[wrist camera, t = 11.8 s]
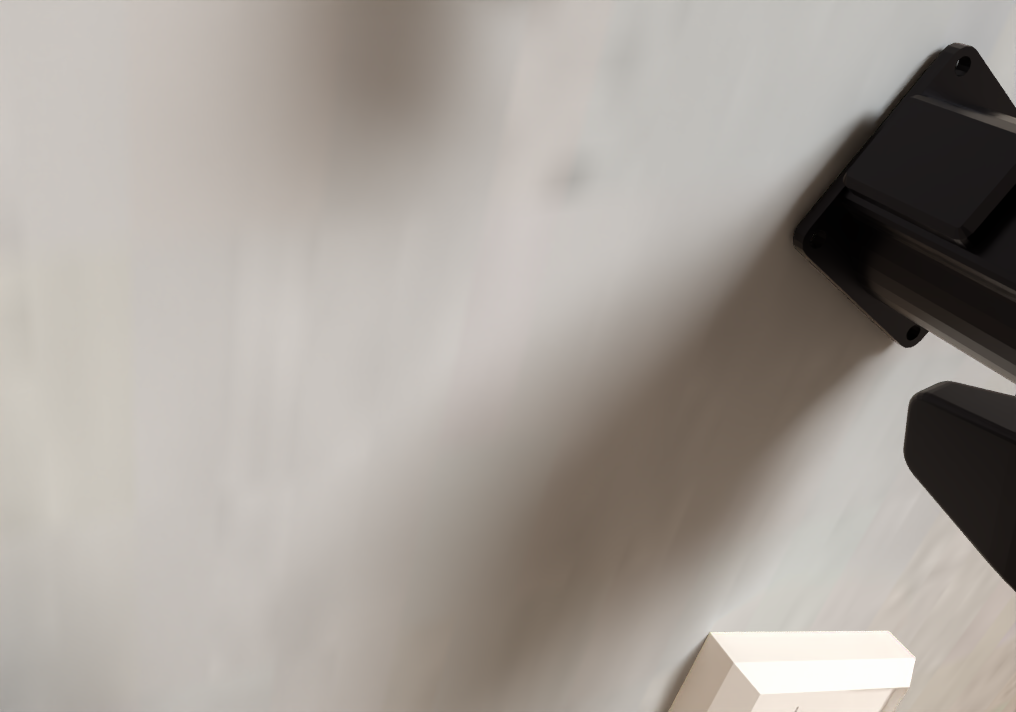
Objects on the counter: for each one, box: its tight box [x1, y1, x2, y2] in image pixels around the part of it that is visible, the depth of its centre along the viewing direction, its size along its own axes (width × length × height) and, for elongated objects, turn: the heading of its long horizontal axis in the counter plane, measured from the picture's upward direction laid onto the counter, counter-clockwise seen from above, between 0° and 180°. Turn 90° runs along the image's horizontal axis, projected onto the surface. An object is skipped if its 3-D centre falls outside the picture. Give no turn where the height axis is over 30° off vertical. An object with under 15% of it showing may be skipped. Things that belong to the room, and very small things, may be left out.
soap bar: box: [668, 631, 916, 712], centre depth 35 cm, size 5×9×3 cm, turn 69°
